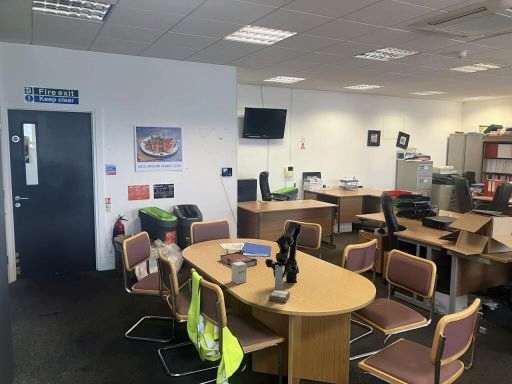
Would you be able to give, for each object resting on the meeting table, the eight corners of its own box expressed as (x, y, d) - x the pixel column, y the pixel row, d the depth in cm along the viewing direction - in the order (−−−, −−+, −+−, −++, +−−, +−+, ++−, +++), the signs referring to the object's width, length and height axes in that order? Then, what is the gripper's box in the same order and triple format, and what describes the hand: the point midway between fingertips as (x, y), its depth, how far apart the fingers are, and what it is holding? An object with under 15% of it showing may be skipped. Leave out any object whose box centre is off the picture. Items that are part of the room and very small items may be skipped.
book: (219, 261, 311) (219, 254, 310) (237, 257, 321) (237, 251, 320) (237, 269, 290) (237, 263, 289) (256, 265, 300) (256, 259, 299)
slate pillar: (279, 285, 237) (279, 265, 235) (284, 287, 233) (285, 267, 232) (273, 287, 234) (273, 266, 232) (278, 289, 230) (279, 268, 229)
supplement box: (237, 284, 258) (237, 265, 256) (231, 281, 264) (231, 262, 262) (246, 282, 262) (246, 263, 261) (240, 279, 268) (240, 261, 267)
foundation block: (273, 294, 240) (273, 289, 240) (289, 296, 237) (289, 291, 237) (269, 300, 231) (269, 295, 231) (285, 303, 228) (286, 297, 228)
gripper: (266, 245, 237) (260, 269, 228) (296, 248, 232) (292, 272, 222) (269, 255, 246) (264, 278, 237) (299, 258, 240) (295, 281, 231)
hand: (278, 277), depth 231 cm, fingers closed on slate pillar, 5 cm apart
